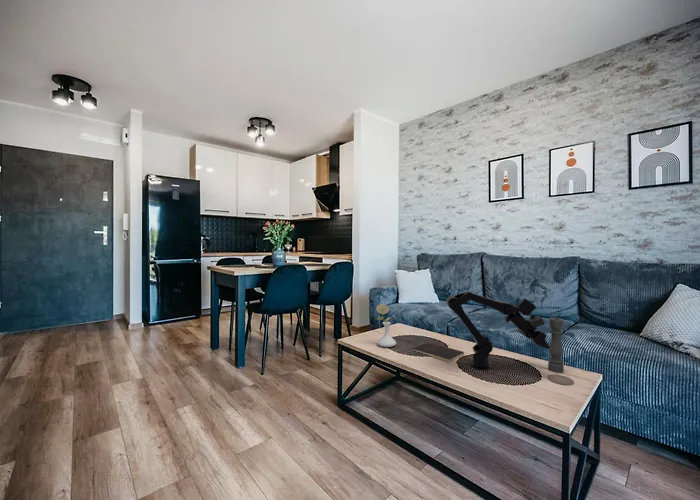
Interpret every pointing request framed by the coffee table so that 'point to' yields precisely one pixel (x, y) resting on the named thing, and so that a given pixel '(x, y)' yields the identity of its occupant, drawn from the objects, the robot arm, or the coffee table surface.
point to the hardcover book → (439, 351)
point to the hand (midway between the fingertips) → (544, 345)
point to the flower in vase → (386, 339)
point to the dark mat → (560, 379)
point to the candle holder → (556, 346)
